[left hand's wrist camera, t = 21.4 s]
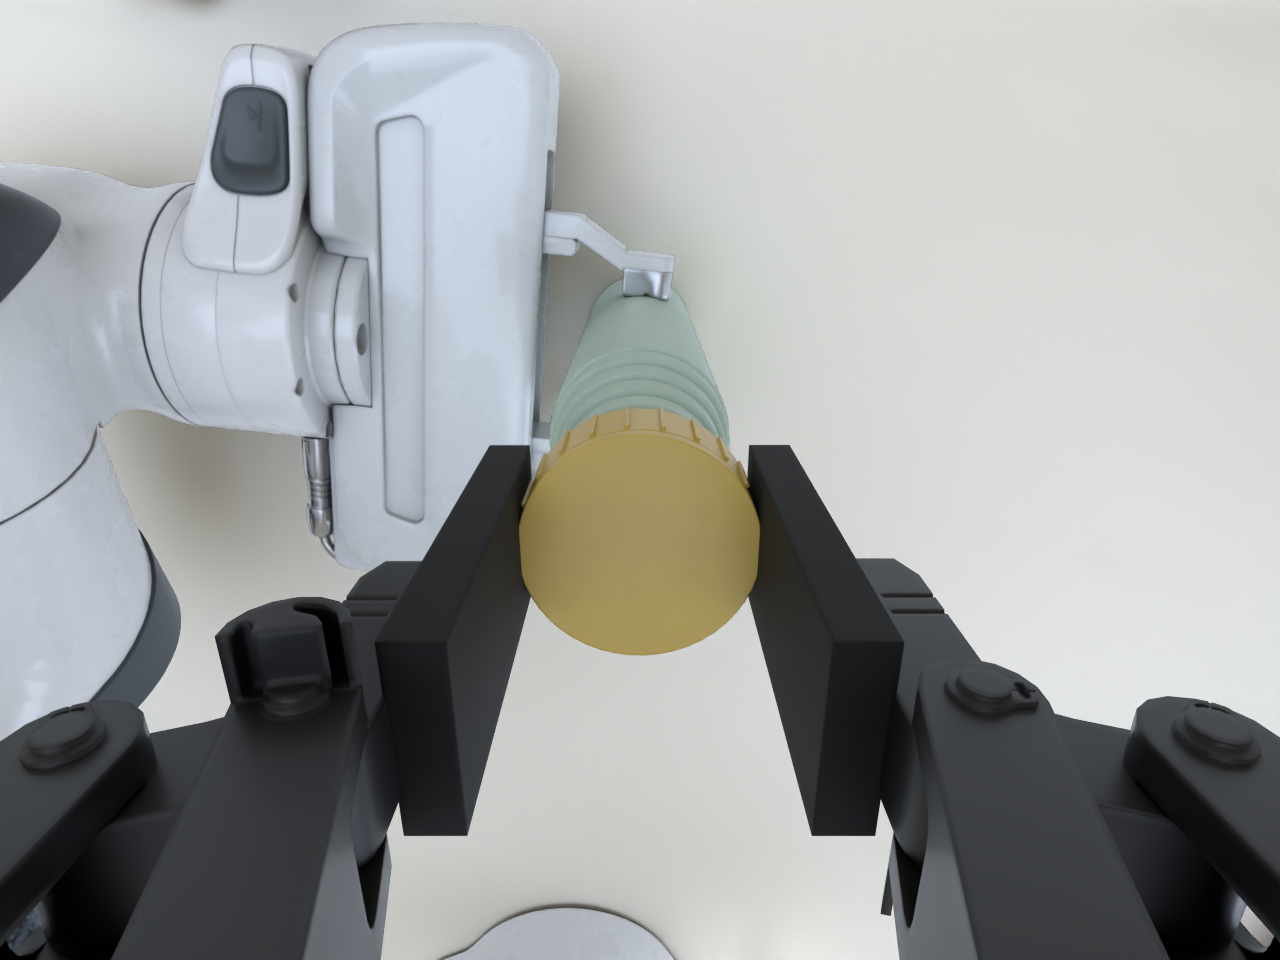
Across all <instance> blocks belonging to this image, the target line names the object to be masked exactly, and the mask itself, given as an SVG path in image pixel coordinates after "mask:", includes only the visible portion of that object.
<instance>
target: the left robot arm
mask: <svg viewBox="0 0 1280 960" xmlns="http://www.w3.org/2000/svg"><path fill="white" fill-rule="evenodd" d="M530 480H532V475H531V457H530V445H490V446H489V447H488V449H487V451H486V452H485V454H484V456H483V457H482V459H481V461H480V463H479V464H478V466H477V468H476V469H475V471H474V473H473V475H472V476H471V478H470V480H469V481H468V483H467V485H466V487H465V488H464V490H463V492H462V493H461V495H460V497H459V498H458V500H457V502H456V504H455V505H454V507H453V509H452V510H451V512H450V514H449V516H448V517H447V519H446V521H445V522H444V524H443V526H442V528H441V529H440V531H439V533H438V534H437V536H436V538H435V539H434V541H433V543H432V545H431V546H430V548H429V550H428V551H427V553H426V555H425V557H424V558H423V560H422V561H385V562H383V563H382V564H380V565H379V566H377V567H376V568H374V569H373V570H371V571H370V572H368V573H366V574H365V575H363V576H362V577H360V579H359V580H358V581H357V583H356V584H355V586H354V587H353V588H352V590H351V591H350V593H349V594H348V595H347V600H344V601H343V602H342V603H340V602H339V601H335V600H331V599H327V598H322V597H297V598H291V599H286V600H280V601H275V602H271V603H268V604H265V605H263V606H260V607H257V608H254V609H252V610H249V611H247V612H245V613H243V614H242V615H240V616H238V617H237V618H235V619H233V620H231V621H230V622H228V623H227V624H226V625H225V626H224V627H223V628H222V629H221V630H220V631H219V633H218V634H217V635H216V636H215V640H216V644H217V648H218V652H219V656H220V660H221V664H222V668H223V672H224V677H225V681H226V685H227V689H228V693H229V697H230V701H231V704H230V706H229V709H228V711H227V713H226V715H225V717H223V718H219V719H215V720H212V721H208V722H204V723H199V724H194V725H189V726H184V727H179V728H174V729H169V730H165V731H160V732H155V733H150V734H149V730H148V727H147V724H146V720H145V717H144V714H143V712H142V711H141V710H140V709H138V708H137V707H136V706H135V705H134V704H132V703H128V702H122V701H116V700H104V701H94V702H84V703H80V704H75V705H72V706H71V707H68V706H67V707H64V708H61V709H58V710H54V711H52V712H50V713H49V714H47V715H45V716H43V717H41V718H38V719H36V720H34V721H32V722H30V723H27V724H25V725H24V726H22V727H21V728H19V729H18V730H16V731H15V732H13V733H12V734H10V735H9V736H7V737H6V738H5V739H3V740H2V741H0V960H381V951H382V943H383V934H384V926H385V917H386V909H387V900H388V892H389V883H390V875H391V859H390V852H389V845H388V839H387V830H388V827H389V825H390V822H391V820H392V817H393V815H394V812H395V810H396V807H397V805H398V802H399V807H400V813H401V820H402V826H403V833H404V836H467V834H468V831H469V827H470V823H471V819H472V816H473V812H474V808H475V804H476V801H477V797H478V793H479V789H480V786H481V782H482V778H483V774H484V770H485V767H486V763H487V759H488V755H489V752H490V748H491V744H492V740H493V737H494V733H495V729H496V725H497V722H498V718H499V714H500V710H501V707H502V703H503V699H504V695H505V692H506V688H507V684H508V680H509V677H510V673H511V669H512V665H513V661H514V658H515V654H516V650H517V646H518V643H519V639H520V635H521V631H522V628H523V624H524V620H525V616H526V613H527V609H528V605H529V601H530V598H531V595H530V593H529V591H528V589H527V587H526V585H525V583H524V580H523V578H522V568H521V553H520V537H519V522H520V518H521V514H522V511H523V508H522V505H521V504H522V501H523V498H524V496H525V493H526V491H527V488H528V485H529V483H530ZM747 480H748V482H749V485H750V487H748V490H749V492H750V495H751V498H752V500H753V503H754V506H755V509H756V512H757V514H758V517H759V522H760V539H759V554H758V569H757V578H756V580H755V583H754V585H753V588H752V590H751V592H750V593H749V595H748V597H749V601H750V605H751V608H752V612H753V616H754V620H755V623H756V627H757V631H758V635H759V638H760V642H761V646H762V650H763V653H764V657H765V661H766V665H767V669H768V672H769V676H770V680H771V684H772V687H773V691H774V695H775V699H776V702H777V706H778V710H779V714H780V717H781V721H782V725H783V729H784V732H785V736H786V740H787V744H788V748H789V751H790V755H791V759H792V763H793V766H794V770H795V774H796V778H797V781H798V785H799V789H800V793H801V796H802V800H803V804H804V808H805V812H806V815H807V819H808V823H809V827H810V830H811V834H812V836H875V833H876V827H877V820H878V814H879V807H880V800H881V801H882V803H883V806H884V808H885V811H886V813H887V816H888V818H889V821H890V823H891V826H892V828H893V831H894V833H893V839H892V845H891V851H890V857H889V863H888V870H887V876H886V882H885V888H884V894H883V900H882V908H881V914H884V915H889V916H891V911H892V905H893V907H894V916H895V924H896V933H897V941H898V950H899V958H900V960H1280V737H1278V736H1277V735H1275V734H1274V733H1272V732H1271V731H1269V730H1268V729H1266V728H1265V727H1263V726H1262V725H1260V724H1259V723H1257V722H1256V721H1254V720H1252V719H1250V718H1247V717H1245V716H1243V715H1241V714H1239V713H1236V712H1234V711H1232V710H1231V709H1229V708H1227V707H1224V706H1221V705H1218V704H1215V703H1212V704H1211V703H1208V701H1203V700H1198V699H1191V698H1181V697H1171V696H1166V697H1160V698H1155V699H1149V700H1147V701H1146V702H1144V703H1143V704H1142V705H1141V706H1140V707H1138V708H1137V710H1136V713H1135V716H1134V720H1133V723H1132V727H1131V730H1127V729H1122V728H1117V727H1112V726H1107V725H1102V724H1097V723H1092V722H1087V721H1082V720H1077V719H1073V718H1069V717H1065V716H1061V715H1058V714H1054V712H1053V709H1052V707H1051V705H1050V703H1049V701H1048V700H1047V699H1046V698H1045V696H1044V695H1043V694H1042V692H1041V691H1040V690H1039V689H1038V687H1036V686H1035V685H1034V684H1032V683H1031V682H1029V681H1028V680H1026V679H1025V678H1023V677H1022V676H1021V675H1019V674H1017V673H1015V672H1013V671H1010V670H1008V669H1005V668H1003V667H1001V666H998V665H996V664H992V663H988V662H983V661H981V660H980V658H979V657H978V656H977V654H976V653H975V651H974V650H973V649H972V647H971V646H970V645H969V643H968V642H967V640H966V639H965V638H964V636H963V635H962V634H961V632H960V631H959V629H958V628H957V627H956V625H955V624H954V623H953V621H952V620H951V618H950V617H949V616H948V614H944V609H943V607H942V606H941V605H940V603H939V602H938V600H937V599H936V598H933V594H932V592H931V591H930V589H929V588H928V587H927V585H926V584H925V583H924V581H923V580H922V578H921V577H920V576H919V575H918V574H917V573H915V572H914V571H912V570H911V569H909V568H908V567H906V566H904V565H903V564H901V563H900V562H898V561H897V560H895V559H856V558H855V557H854V555H853V553H852V551H851V550H850V548H849V546H848V545H847V543H846V541H845V539H844V538H843V536H842V534H841V533H840V531H839V529H838V527H837V526H836V524H835V522H834V521H833V519H832V517H831V515H830V514H829V512H828V510H827V509H826V507H825V505H824V504H823V502H822V500H821V498H820V497H819V495H818V493H817V492H816V490H815V488H814V486H813V485H812V483H811V481H810V480H809V478H808V476H807V474H806V473H805V471H804V469H803V468H802V466H801V464H800V462H799V461H798V459H797V457H796V456H795V454H794V452H793V451H792V449H791V447H790V445H749V459H748V477H747ZM1246 906H1248V907H1249V908H1250V909H1251V910H1252V911H1253V912H1254V914H1255V915H1256V916H1257V917H1258V918H1259V919H1260V920H1261V922H1262V923H1263V924H1264V925H1265V926H1266V927H1267V928H1268V929H1269V931H1270V932H1271V933H1272V934H1273V935H1274V938H1273V940H1272V943H1271V945H1270V946H1269V947H1268V948H1266V947H1264V946H1263V945H1262V944H1261V943H1260V942H1258V941H1257V940H1256V939H1255V938H1254V937H1253V936H1252V935H1251V934H1250V932H1249V931H1248V930H1247V929H1246V928H1245V927H1244V925H1243V924H1242V923H1241V922H1240V920H1241V918H1242V915H1243V913H1244V911H1245V908H1246ZM33 909H34V911H35V914H36V916H37V919H38V921H39V923H40V925H39V926H38V928H37V929H36V930H35V931H34V932H33V933H32V935H31V936H30V937H29V938H28V939H27V940H26V941H25V942H24V943H23V944H21V945H20V946H19V947H18V948H17V949H16V950H14V951H12V950H11V949H10V948H9V946H8V943H7V941H6V940H7V939H8V937H9V936H10V935H11V934H12V933H13V932H14V931H15V929H16V928H17V927H18V926H19V925H20V924H21V923H22V921H23V920H24V919H25V918H26V917H27V916H28V915H29V913H30V912H31V911H32V910H33Z"/></svg>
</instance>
